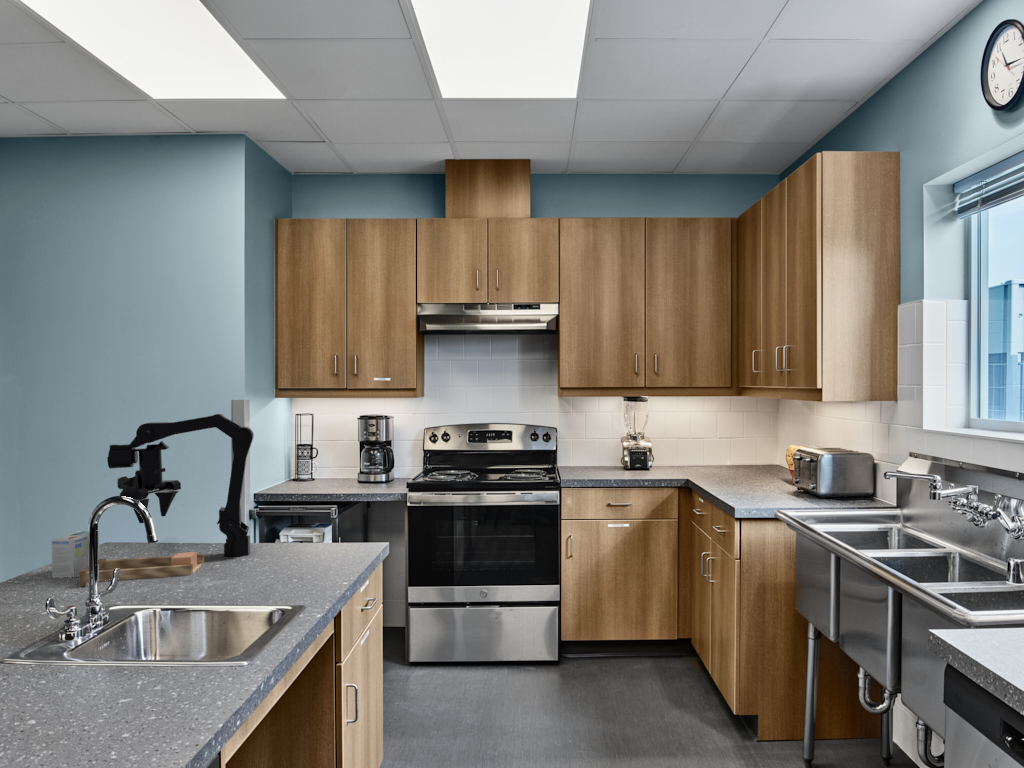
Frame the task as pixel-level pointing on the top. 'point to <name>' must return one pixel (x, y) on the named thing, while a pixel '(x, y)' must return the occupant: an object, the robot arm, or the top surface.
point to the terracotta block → (185, 559)
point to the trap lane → (140, 568)
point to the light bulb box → (70, 554)
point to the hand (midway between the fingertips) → (152, 519)
